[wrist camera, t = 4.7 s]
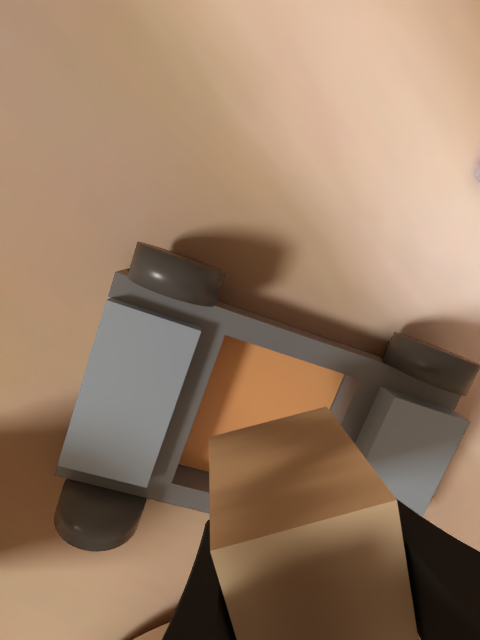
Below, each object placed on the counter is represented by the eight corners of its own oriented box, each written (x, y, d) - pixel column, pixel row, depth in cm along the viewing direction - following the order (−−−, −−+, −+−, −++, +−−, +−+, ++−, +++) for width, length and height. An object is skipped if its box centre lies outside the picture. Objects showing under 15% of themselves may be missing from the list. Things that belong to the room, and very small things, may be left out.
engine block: (326, 406, 13) (396, 499, 8) (349, 527, 14) (423, 672, 9) (208, 437, 13) (209, 550, 8) (242, 557, 14) (260, 720, 9)
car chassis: (451, 351, 21) (511, 377, 17) (357, 550, 23) (389, 615, 19) (134, 238, 18) (113, 235, 14) (62, 478, 20) (24, 537, 16)
